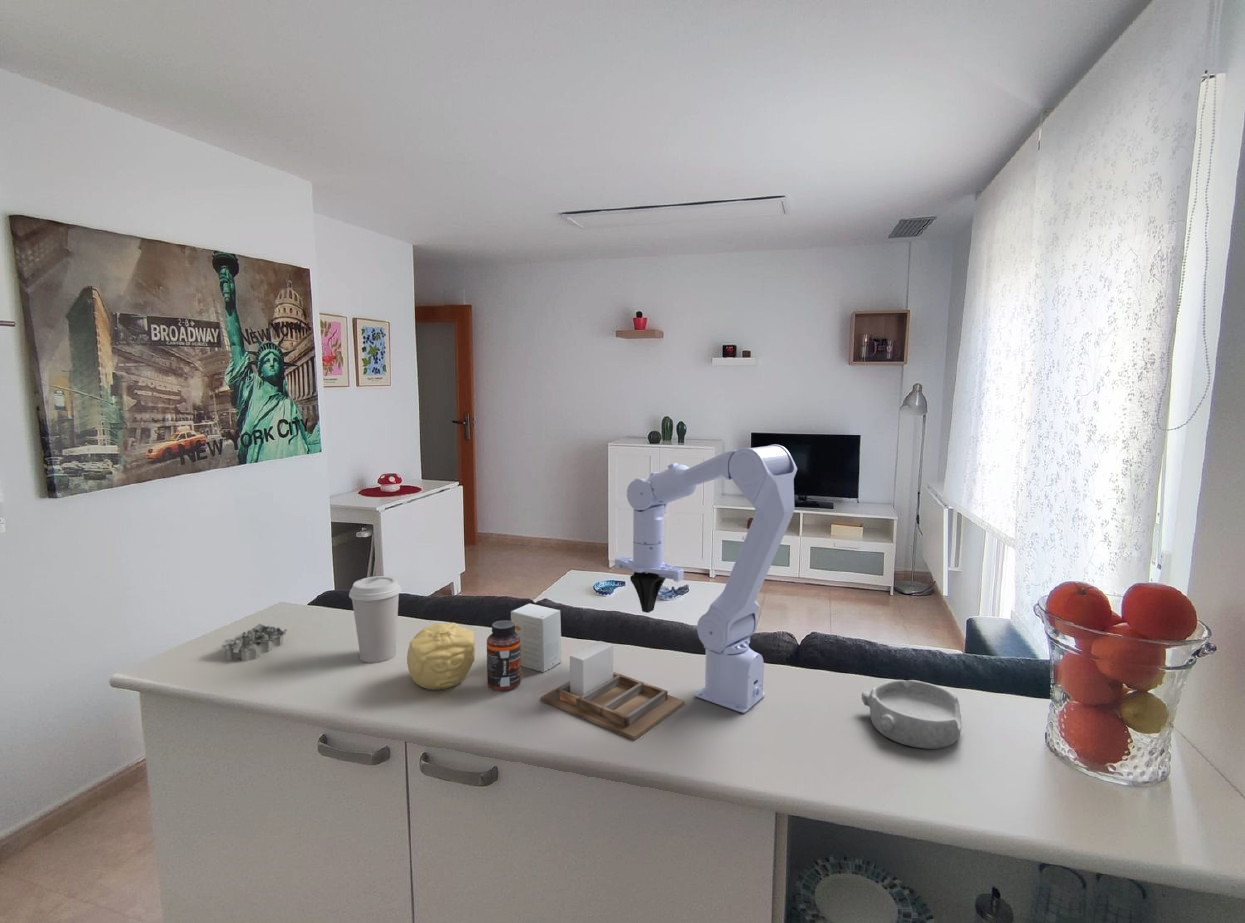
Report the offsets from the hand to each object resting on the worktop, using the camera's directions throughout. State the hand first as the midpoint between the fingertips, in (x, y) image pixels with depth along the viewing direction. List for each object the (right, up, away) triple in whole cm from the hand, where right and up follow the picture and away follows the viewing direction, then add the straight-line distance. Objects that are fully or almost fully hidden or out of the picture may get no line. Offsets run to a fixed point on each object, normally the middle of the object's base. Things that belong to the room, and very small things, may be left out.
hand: (647, 610), depth 121 cm
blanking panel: (-10, -11, -11) cm, 18 cm away
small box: (-21, -11, +1) cm, 24 cm away
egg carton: (-79, -10, +7) cm, 80 cm away
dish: (+41, -14, -21) cm, 48 cm away
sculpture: (-37, -11, -6) cm, 40 cm away
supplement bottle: (-26, -12, -8) cm, 29 cm away
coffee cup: (-53, -10, +4) cm, 54 cm away
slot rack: (-7, -12, -14) cm, 20 cm away
